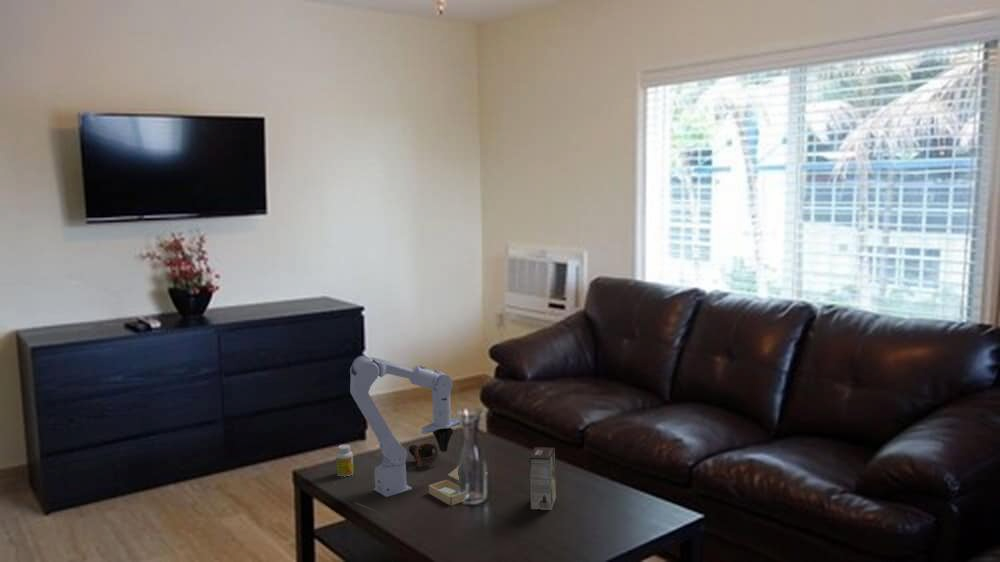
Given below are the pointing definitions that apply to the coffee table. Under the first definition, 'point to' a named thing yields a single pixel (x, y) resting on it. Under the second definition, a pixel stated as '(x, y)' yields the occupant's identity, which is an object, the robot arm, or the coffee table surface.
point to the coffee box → (542, 478)
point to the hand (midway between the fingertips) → (443, 450)
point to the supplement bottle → (344, 461)
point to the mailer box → (443, 496)
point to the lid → (455, 472)
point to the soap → (448, 491)
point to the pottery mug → (424, 453)
